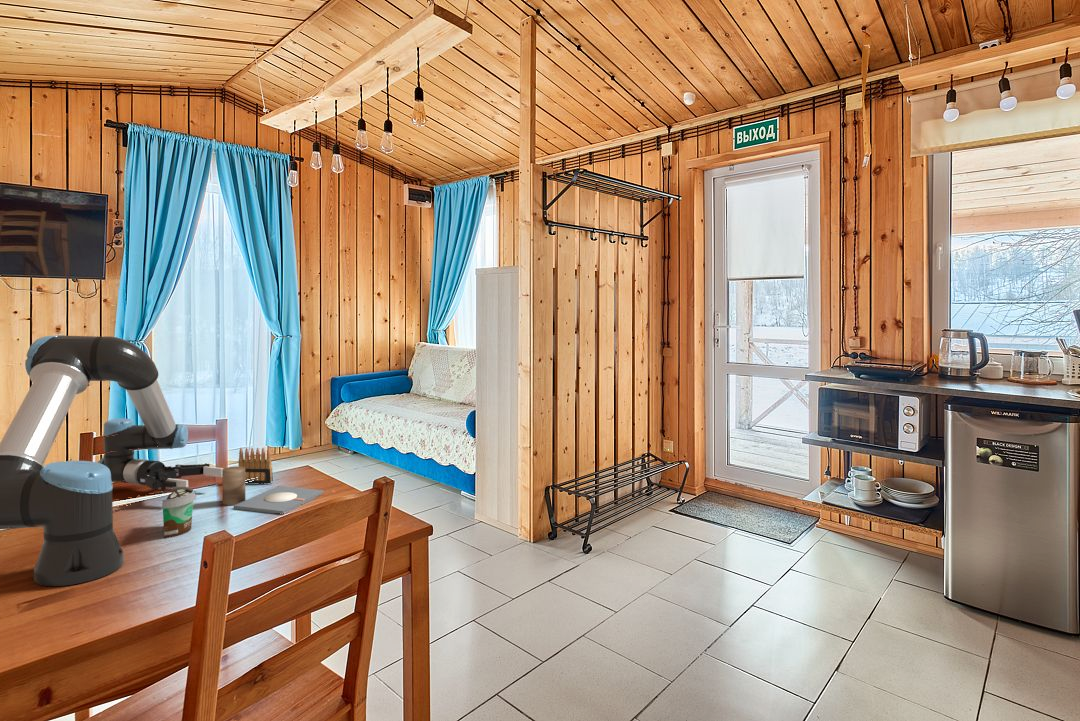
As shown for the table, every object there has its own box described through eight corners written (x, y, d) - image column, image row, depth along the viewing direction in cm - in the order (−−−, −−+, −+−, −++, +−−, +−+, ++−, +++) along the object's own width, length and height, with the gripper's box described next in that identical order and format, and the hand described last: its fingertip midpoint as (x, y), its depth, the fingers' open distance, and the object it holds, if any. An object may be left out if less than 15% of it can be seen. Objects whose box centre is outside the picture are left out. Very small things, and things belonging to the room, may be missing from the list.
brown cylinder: (235, 506, 166) (235, 472, 166) (217, 504, 168) (217, 471, 167) (250, 500, 172) (249, 467, 171) (232, 498, 173) (232, 465, 173)
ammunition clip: (272, 482, 190) (272, 447, 189) (270, 484, 188) (270, 448, 187) (239, 482, 190) (239, 446, 189) (237, 483, 188) (236, 447, 187)
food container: (191, 537, 143) (190, 498, 142) (162, 540, 141) (161, 500, 140) (200, 520, 155) (199, 484, 154) (174, 523, 152) (173, 486, 152)
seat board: (283, 514, 161) (283, 510, 161) (233, 509, 164) (233, 504, 164) (323, 493, 181) (323, 489, 180) (278, 488, 184) (278, 485, 184)
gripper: (179, 473, 188) (235, 479, 184) (108, 496, 164) (171, 504, 160) (178, 451, 188) (235, 456, 183) (107, 471, 163) (170, 477, 159)
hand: (205, 478), depth 171 cm, fingers open, 13 cm apart
